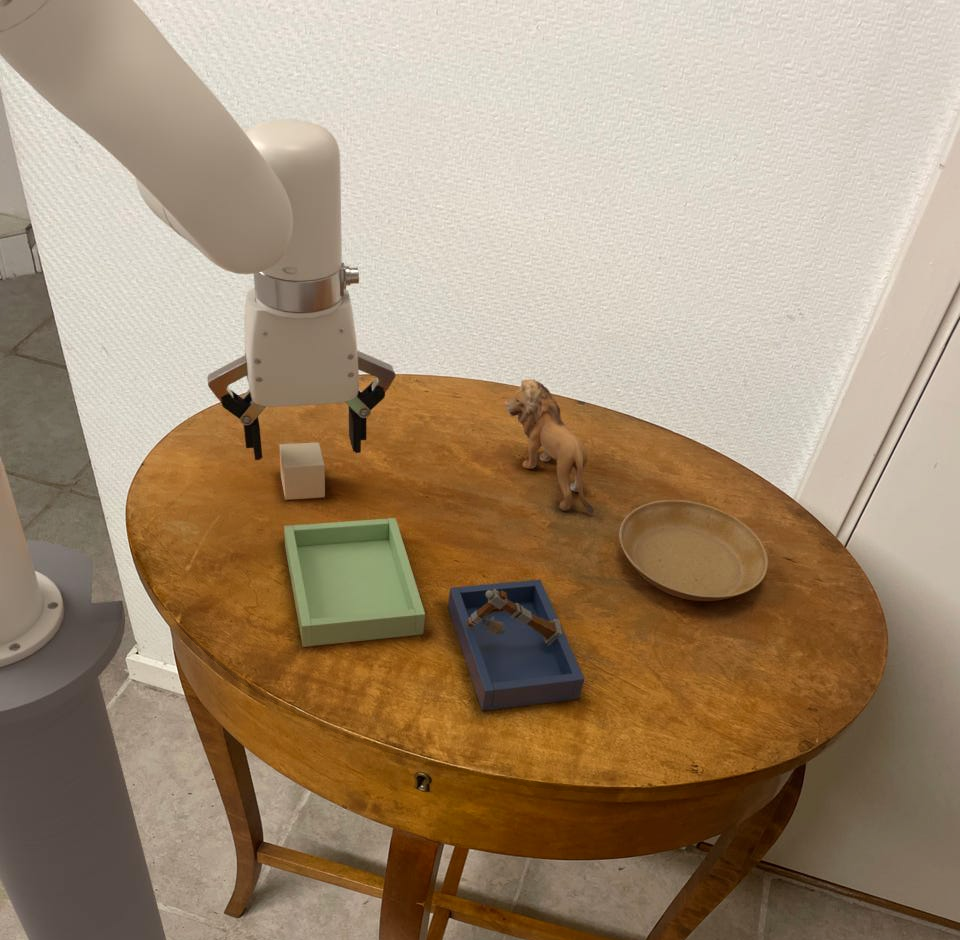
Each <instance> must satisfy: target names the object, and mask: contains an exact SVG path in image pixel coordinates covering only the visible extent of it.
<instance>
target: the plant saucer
mask: <svg viewBox="0 0 960 940" xmlns="http://www.w3.org/2000/svg"><path fill="white" fill-rule="evenodd" d="M618 537H619V543H620V547H621V548H622V551H623V553H624V555H625V558H626V559H627V561H628V562H629V563H630V565H631V566H632V567H633V569H634V570H635V571H636V572H637V573H638V574H639V576H641V577H642V578H643V579H644V580H645V581H647V582H648V583H649V584H650V585H652V586H653V587H654V588H656V589H657V590H659V591H661V592H663V593H665V594H668V595H671V596H673V597H675V598H676V597H677V598H679V599H684V600H686V601H687V600H689V601H695V602H712V601H713V602H715V601H722V600H727V599H731V598H734V597H737V596H740V595H743V594H745V593H747V592H749V591H751V590H753V589H754V588H756V586H758V585H759V584H760V583H761V582H762V581H763V580H764V578H765V576H766V574H767V571H768V567H769V558H768V554H767V550H766V548H765V546H764V543H763V542H762V540H760V538H759V536H757V534H756V533H755V532H754V531H753V530H752V529H751V528H750V527H749V526H748V525H747V524H745V523H744V522H743V521H741V520H740V519H738V518H737V517H735V516H733V515H731V514H730V513H728V512H726V511H723V510H721V509H719V508H716V507H714V506H711V505H707V504H704V503H699V502H696V501H690V500H684V499H682V500H681V499H665V500H664V499H663V500H655V501H652V502H647V503H644V504H643V505H640V506H637V507H636V508H634V509H633V510H631V511H629V513H628V514H627V515H626V516H625V518H624V519H623V520H622V522H621V523H620V527H619V533H618Z"/></svg>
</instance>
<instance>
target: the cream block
mask: <svg viewBox="0 0 960 940" xmlns="http://www.w3.org/2000/svg"><path fill="white" fill-rule="evenodd" d="M279 465H280V466H279V467H280V479H281V483H282V490H283V496H284V500H285V501H288V500H306V499H318V498H319V499H320V498H321V499H322V498H325V497H326V470H325V469H326V467H325V466H326V465H325V461H324V456H323V453H322V449H321V444H320V442H299V443H298V442H297V443H279Z"/></svg>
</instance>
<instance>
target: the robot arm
mask: <svg viewBox="0 0 960 940" xmlns="http://www.w3.org/2000/svg"><path fill="white" fill-rule="evenodd" d="M0 56H1V57H2V59H3V60H4V61H5V62H6V63H7V64H8V65H9V66H10V67H11V68H12V69H13V70H14V71H15V72H16V73H17V74H18V75H19V76H20V77H21V78H22V79H23V80H24V81H25V82H27V84H29V85H30V86H31V88H33V90H35V91H36V92H37V94H39V95H40V97H42V98H43V99H44V100H45V101H46V102H48V103H49V104H50V106H52V107H53V108H54V109H55V110H56V111H58V112H59V113H60V114H62V115H63V116H64V117H65V118H67V119H68V120H70V121H71V122H72V123H73V124H75V125H76V126H77V127H78V128H80V129H81V130H82V131H84V132H85V134H87V135H88V136H89V137H91V138H92V139H94V140H95V141H96V142H97V143H98V144H99V145H101V146H102V147H103V148H104V149H105V150H106V151H107V152H108V153H109V154H111V156H113V157H114V158H115V159H116V160H117V161H118V162H119V163H120V164H121V165H122V166H123V167H124V168H125V169H126V170H127V171H129V172H130V174H131V175H132V176H133V177H134V178H135V183H136V186H137V189H138V192H139V195H140V196H141V198H142V200H143V202H144V203H145V205H146V206H147V207H148V208H149V210H150V211H151V212H152V213H153V214H154V215H155V216H156V217H157V218H158V219H159V220H161V221H162V222H163V223H164V224H165V225H166V226H168V227H169V228H170V229H171V230H173V231H174V233H176V234H177V235H179V237H181V238H183V239H184V240H185V241H187V242H188V243H189V244H190V245H192V246H193V248H195V249H196V250H198V252H200V254H202V255H203V256H204V257H206V259H208V260H209V261H210V262H211V263H212V264H214V265H215V266H217V267H219V268H220V269H222V270H224V271H226V272H230V273H234V274H238V275H252V274H253V285H254V287H251V288H250V289H248V291H247V292H246V296H245V303H244V314H243V338H244V339H243V341H244V343H243V344H244V355H242V356H241V357H238V358H237V359H235V360H233V361H231V362H229V363H227V364H226V365H224V366H222V367H220V368H217V369H216V370H214V371H212V372H210V373H209V374H207V378H206V379H207V385H208V386H207V387H208V388H209V389H210V391H211V392H212V394H214V396H215V398H216V399H217V400H218V401H219V402H220V403H221V406H222V408H223V409H225V410H226V411H228V412H229V413H231V414H232V415H233V416H234V417H236V418H237V419H239V420H240V421H239V422H240V423H241V424H242V425H243V432H244V434H243V435H244V443H245V449H253V454H254V461H261V459H263V448H262V439H261V428H260V421H259V416H260V415H261V414H262V413H263V412H264V410H265V409H266V408H283V407H301V406H316V405H317V406H319V405H320V406H321V405H333V404H346V405H347V406H348V438H349V441H350V445H351V449H352V452H353V453H355V454H361V453H362V441H367V425H368V424H367V423H368V422H367V421H368V419H367V418H368V417H370V415H371V414H372V413H371V411H373V409H374V408H375V407H376V406H377V405H378V404H379V403H381V402H382V400H384V399H385V397H386V392H387V391H388V390H389V389H390V387H391V385H392V383H393V381H394V379H396V371H395V369H394V367H393V365H391V364H389V363H388V362H385V361H383V360H381V359H378V358H377V357H376V358H375V357H374V356H372V355H369V354H368V353H367V354H366V353H364V352H362V351H360V350H358V344H357V334H356V328H355V320H354V313H353V305H352V301H351V296H350V292H349V291H348V289H347V287H348V286H349V287H350V286H351V285H353V284H354V285H355V284H359V283H360V273H359V268H358V267H350V266H349V265H345V263H344V262H343V253H342V250H343V249H342V248H343V247H342V245H343V244H342V189H341V188H342V186H341V185H342V184H341V182H342V181H341V152H340V146H339V144H338V141H337V139H336V138H335V136H334V134H333V133H331V131H329V130H328V129H327V128H325V127H323V126H322V125H320V124H317V123H313V122H311V121H306V120H300V119H290V118H288V119H287V118H283V119H273V120H272V119H271V120H267V121H264V122H261V123H258V124H256V125H255V126H250V127H249V126H248V127H247V126H245V127H243V126H242V127H241V126H240V124H239V123H238V122H237V120H235V118H234V117H233V116H232V114H231V113H230V112H229V111H228V109H227V108H226V107H225V105H224V104H222V103H221V101H220V100H219V98H218V97H217V96H216V95H215V94H214V93H213V92H212V90H211V89H210V88H209V87H208V85H207V84H206V83H205V82H204V81H203V80H202V79H201V78H200V77H199V76H198V74H197V73H196V72H195V71H194V70H193V69H192V68H191V66H190V65H189V64H188V63H187V62H186V61H185V59H184V58H183V57H182V56H181V55H180V54H179V52H177V50H176V49H175V48H174V47H173V46H172V45H171V43H170V42H169V41H168V40H167V39H166V38H165V36H164V35H163V33H161V31H160V29H158V27H157V26H156V25H155V24H154V22H153V21H152V20H151V19H150V18H149V17H148V15H147V14H146V13H145V11H143V9H142V8H141V7H140V6H139V5H138V4H137V2H135V1H134V0H0ZM359 371H360V372H363V373H366V374H367V375H370V376H373V377H374V380H373V381H371V383H370V384H368V385H367V386H366V387H365V388H364V389H363V390H361V389H360V373H359ZM245 377H246V378H247V382H248V388H249V389H248V390H247V391H246V392H245V394H243V396H242V397H241V396H240V395H238V394H237V393H236V392H234V390H232V389H231V388H230V387H229V386H230V385H232V384H233V383H235V382H238V381H239V380H242V379H243V378H245ZM5 468H6V467H5V464H4V462H3V459H2V456H1V455H0V667H4V666H7V665H9V664H12V663H15V662H18V661H20V660H22V659H24V658H26V657H28V656H30V655H32V654H33V653H35V652H36V651H38V650H39V649H41V648H42V647H43V646H44V645H46V644H47V643H48V642H49V641H50V640H51V639H52V638H53V637H54V635H55V634H56V632H57V631H58V630H59V628H60V626H61V623H62V621H63V618H64V611H65V609H64V603H63V599H62V596H61V593H60V590H59V589H58V587H57V586H56V585H55V583H54V582H53V581H51V580H50V579H49V578H48V577H47V576H45V575H43V574H41V573H39V572H37V571H35V570H34V567H33V563H32V560H31V556H30V553H29V550H28V546H27V543H26V540H27V539H26V536H25V533H24V530H23V526H22V523H21V519H20V516H19V512H18V510H17V506H16V502H15V499H14V495H13V492H12V489H11V485H10V482H9V479H8V475H7V472H6V469H5Z"/></svg>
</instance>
